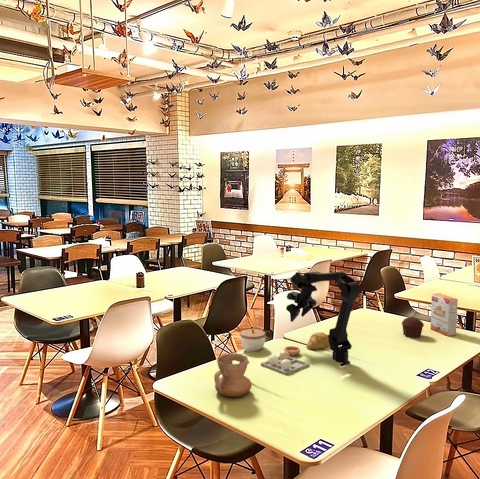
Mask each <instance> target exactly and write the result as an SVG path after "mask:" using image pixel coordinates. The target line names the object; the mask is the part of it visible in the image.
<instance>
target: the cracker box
mask: <svg viewBox="0 0 480 479" xmlns="http://www.w3.org/2000/svg"><path fill="white" fill-rule="evenodd" d="M458 304H459V303H458V298H456V297H454V296H449V295H447V294H443V293H432V294H431V307H430V308H431V310H430V311H431V312H430V330H432V331H435V332H437V333H439V334H442V335H444V336H447V337H452V336H453V337H454V336H457V324H458V323H457V320H458V317H457V316H458Z"/></svg>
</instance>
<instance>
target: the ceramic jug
mask: <svg viewBox="0 0 480 479" xmlns="http://www.w3.org/2000/svg"><path fill="white" fill-rule="evenodd" d="M233 361H234V362H235V361H236V362H238V363H233ZM216 362H217V367H218V370H217V371H215V373H214V376H213V378H214V379H213V380H214V388H215V391H216V392H217V393H218V394H219V395H221V396H224V397H228V398H239V397H243V396H245V395H247V394H248V393H249V392H250V390H251V389H252V381H251V380H250V378H249V377H247V376H246V375H245V373H246V372H247V371H246V370H247V368H248V364H250V361H249V357H248V356H247V355H244V354H242V353H239V352H237V353H236V352H233V353H231V352H230V353H226V354H222V355H221V356H219V357H217V359H216ZM220 376H221V377H220Z"/></svg>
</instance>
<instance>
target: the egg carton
mask: <svg viewBox="0 0 480 479" xmlns="http://www.w3.org/2000/svg"><path fill="white" fill-rule="evenodd" d="M277 357H278V359H279V362H278V364H277V365H275V366H272V365H270V364H269V362H268V360H266V361H263V362H260V366H262V367H265V368H267V369H270V370H272V371H274V372H277V373H279V374H282V375H285V376H289V375H291V374H293V373H295V372H298V371H301V370H303V369H305V368H307V367H309V366H310V363H308V362H306V361H303V360H301V359H298V358H296V357H295V358H294V357H291V356H290V358H289V361H290V362H291V368H290V369H289V370H283V369H282V368H281V361H282V360H281V359H280V357H279V356H277Z"/></svg>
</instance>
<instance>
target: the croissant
mask: <svg viewBox="0 0 480 479" xmlns="http://www.w3.org/2000/svg"><path fill="white" fill-rule="evenodd" d="M328 335H329V334H326V333H325V332H321V331H320V332H314V333H312V334H311V336H309V337H310V338H309V340H308V342H307V344H306V349H307V350H320V349H324V348H326V347H328V346H329V345H330V344H329V341H328V338H329V337H328Z"/></svg>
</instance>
